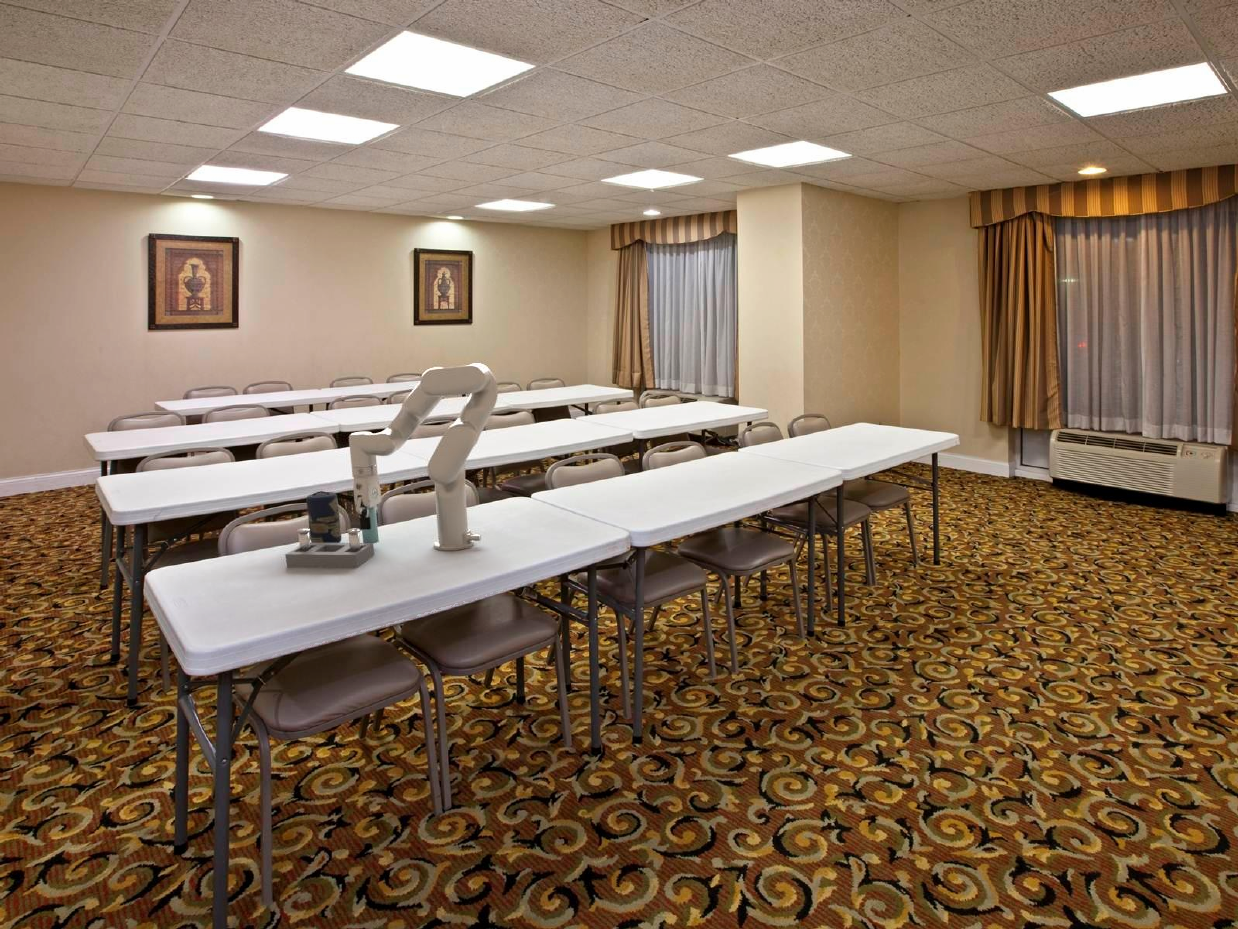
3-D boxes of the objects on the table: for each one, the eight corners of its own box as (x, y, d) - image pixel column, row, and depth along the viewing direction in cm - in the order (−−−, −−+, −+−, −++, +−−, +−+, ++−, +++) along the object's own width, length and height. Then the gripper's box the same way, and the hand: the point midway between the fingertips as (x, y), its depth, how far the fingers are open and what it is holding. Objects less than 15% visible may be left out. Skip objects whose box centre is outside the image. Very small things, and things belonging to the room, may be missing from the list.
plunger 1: (315, 554, 229) (312, 528, 228) (308, 558, 226) (305, 531, 224) (303, 554, 230) (300, 527, 228) (297, 558, 226) (294, 531, 224)
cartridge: (381, 539, 241) (377, 500, 238) (374, 544, 236) (371, 504, 234) (367, 539, 241) (363, 500, 239) (360, 544, 237) (356, 504, 234)
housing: (374, 555, 232) (373, 543, 231) (357, 567, 220) (355, 555, 219) (307, 554, 234) (306, 542, 233) (286, 567, 222) (285, 554, 222)
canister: (331, 549, 239) (325, 494, 236) (305, 548, 241) (299, 494, 238) (347, 540, 248) (342, 488, 245) (322, 539, 250) (316, 487, 247)
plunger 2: (364, 555, 228) (362, 528, 226) (359, 559, 224) (356, 531, 222) (352, 555, 228) (350, 528, 226) (347, 559, 224) (344, 531, 223)
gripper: (364, 476, 225) (369, 534, 229) (387, 465, 242) (391, 520, 246) (340, 476, 226) (346, 534, 230) (365, 465, 243) (370, 519, 246)
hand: (369, 526), depth 238 cm, fingers closed on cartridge, 4 cm apart
